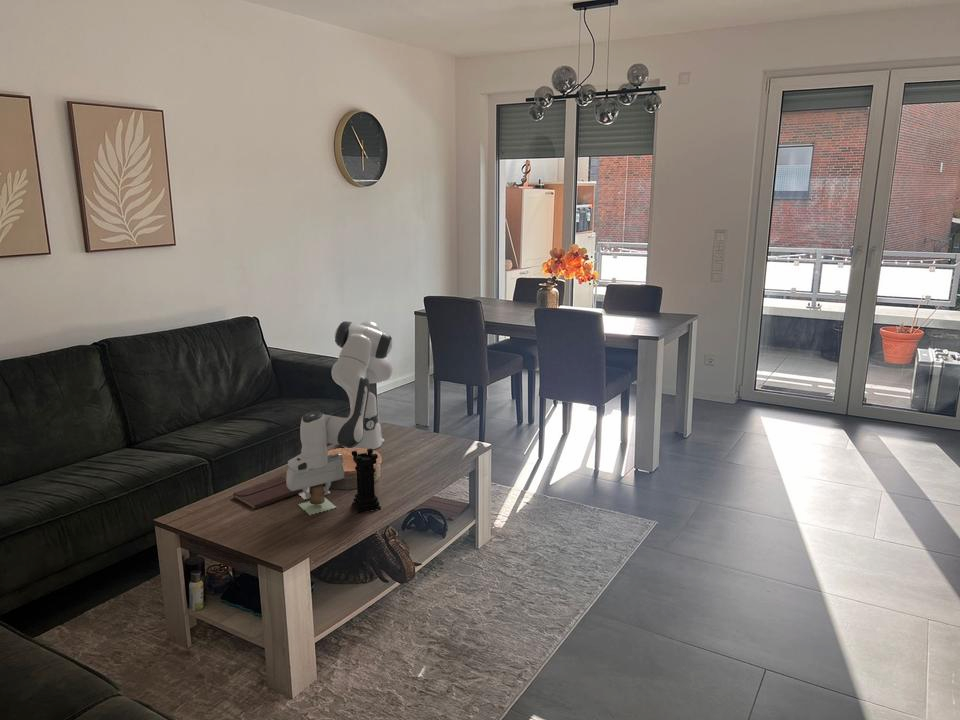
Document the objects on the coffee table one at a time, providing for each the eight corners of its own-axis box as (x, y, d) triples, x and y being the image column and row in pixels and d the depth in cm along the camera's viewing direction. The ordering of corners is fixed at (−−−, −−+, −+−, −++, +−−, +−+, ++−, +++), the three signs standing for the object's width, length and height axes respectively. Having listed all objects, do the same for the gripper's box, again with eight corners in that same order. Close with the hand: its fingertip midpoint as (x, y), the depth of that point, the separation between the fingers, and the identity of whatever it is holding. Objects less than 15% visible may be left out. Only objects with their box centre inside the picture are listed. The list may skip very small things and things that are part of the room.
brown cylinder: (307, 500, 248) (306, 484, 246) (321, 497, 251) (320, 481, 249) (313, 505, 244) (312, 489, 242) (326, 502, 247) (326, 486, 245)
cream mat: (293, 490, 261) (293, 489, 261) (319, 484, 267) (319, 483, 267) (304, 499, 253) (304, 498, 253) (330, 493, 259) (330, 492, 259)
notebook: (304, 491, 259) (303, 486, 259) (255, 509, 245) (254, 504, 245) (281, 480, 269) (281, 475, 268) (233, 497, 255) (233, 492, 254)
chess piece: (374, 500, 253) (372, 447, 248) (380, 509, 246) (379, 455, 241) (352, 504, 250) (350, 451, 245) (358, 513, 243) (356, 458, 238)
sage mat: (298, 505, 249) (298, 504, 249) (324, 498, 254) (324, 497, 254) (309, 515, 241) (309, 514, 241) (336, 508, 247) (336, 507, 246)
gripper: (338, 449, 252) (340, 485, 255) (283, 462, 240) (285, 499, 243) (346, 455, 247) (348, 491, 250) (290, 468, 235) (292, 506, 238)
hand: (316, 495), depth 247 cm, fingers closed on brown cylinder, 5 cm apart
